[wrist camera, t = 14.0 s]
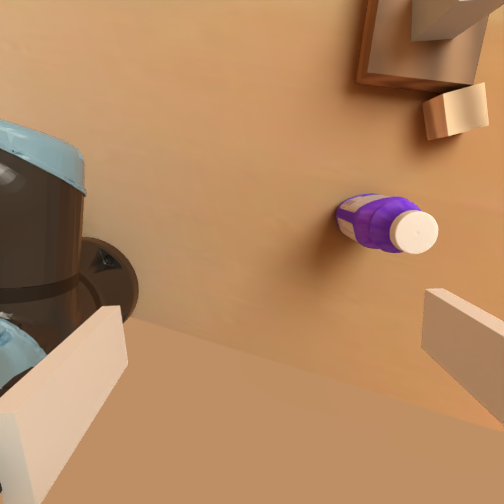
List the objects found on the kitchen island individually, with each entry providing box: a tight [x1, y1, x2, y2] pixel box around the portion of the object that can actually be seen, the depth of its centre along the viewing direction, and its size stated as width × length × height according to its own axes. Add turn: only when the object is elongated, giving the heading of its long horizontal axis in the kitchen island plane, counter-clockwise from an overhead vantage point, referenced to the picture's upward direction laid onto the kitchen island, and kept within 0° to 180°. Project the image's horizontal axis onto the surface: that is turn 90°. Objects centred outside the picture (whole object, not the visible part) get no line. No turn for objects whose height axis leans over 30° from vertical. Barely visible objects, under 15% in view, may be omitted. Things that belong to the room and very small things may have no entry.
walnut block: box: [355, 0, 489, 94], centre depth 41 cm, size 13×13×5 cm
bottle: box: [336, 194, 438, 254], centre depth 39 cm, size 7×6×17 cm
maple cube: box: [422, 83, 489, 141], centre depth 43 cm, size 5×5×5 cm
